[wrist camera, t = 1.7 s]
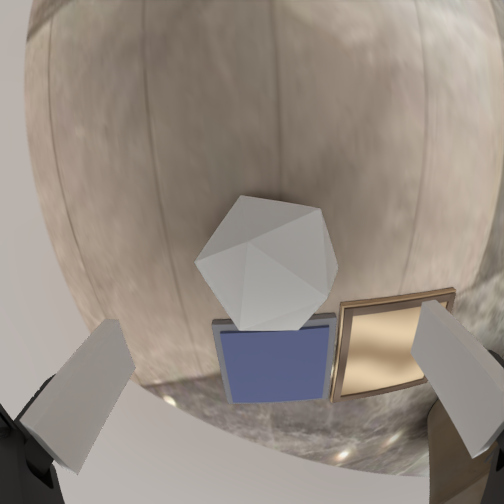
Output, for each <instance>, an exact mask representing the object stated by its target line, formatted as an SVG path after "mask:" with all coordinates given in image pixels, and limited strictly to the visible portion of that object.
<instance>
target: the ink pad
mask: <svg viewBox="0 0 504 504" xmlns="http://www.w3.org/2000/svg"><path fill="white" fill-rule="evenodd" d="M336 320H337V317H336V315H335V313H328V314H317V315H312V316H311V317H310V318H309V319H308V320H307V321H306V322H305V323H304V325H303V326H302V327H301V328H300V329H299V330H286V331H239V330H238V328H237V327H236V325H235V324H234V322H233V321H232V320H213V322H212V330H213V335H214V340H215V345H216V350H217V355H218V360H219V365H220V370H221V374H222V379H223V384H224V388H225V393H226V397H227V401H228V404H264V403H285V402H299V401H310V400H319V399H327V397H328V390H329V383H330V376H331V368H332V360H333V351H334V342H335V331H336Z"/></svg>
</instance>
